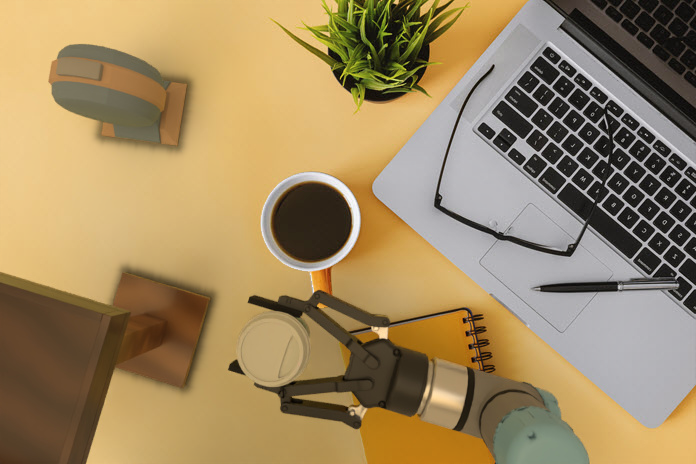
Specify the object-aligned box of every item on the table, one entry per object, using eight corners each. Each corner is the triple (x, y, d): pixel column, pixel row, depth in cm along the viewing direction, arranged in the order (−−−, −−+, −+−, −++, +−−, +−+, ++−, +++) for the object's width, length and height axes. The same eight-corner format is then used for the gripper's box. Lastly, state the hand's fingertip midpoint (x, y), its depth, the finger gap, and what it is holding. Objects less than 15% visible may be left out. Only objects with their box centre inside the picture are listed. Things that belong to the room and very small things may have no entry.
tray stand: (184, 386, 74) (62, 472, 45) (99, 359, 75) (-75, 426, 46) (210, 297, 74) (105, 326, 45) (125, 272, 75) (-31, 284, 46)
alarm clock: (193, 85, 76) (138, 34, 58) (183, 146, 75) (125, 114, 58) (106, 74, 77) (25, 20, 59) (95, 134, 76) (12, 98, 59)
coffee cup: (284, 379, 65) (264, 407, 53) (244, 329, 66) (216, 346, 54) (333, 338, 65) (324, 357, 53) (293, 289, 66) (275, 297, 54)
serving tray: (75, 499, 45) (50, 520, 41) (-100, 441, 46) (-139, 456, 42) (131, 311, 45) (111, 316, 42) (-44, 258, 46) (-78, 258, 43)
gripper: (397, 456, 61) (226, 403, 63) (441, 300, 62) (271, 251, 63) (401, 484, 54) (207, 423, 55) (450, 306, 54) (257, 250, 56)
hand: (241, 331), depth 59 cm, fingers closed on coffee cup, 8 cm apart
